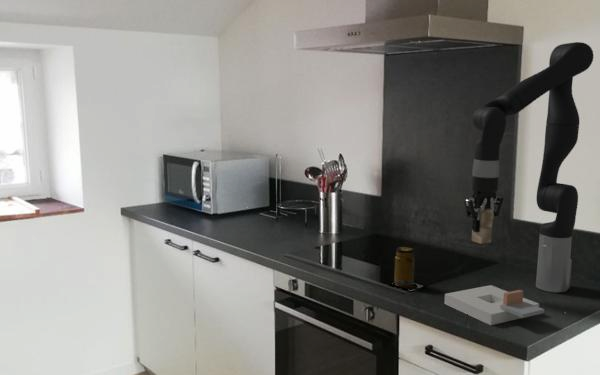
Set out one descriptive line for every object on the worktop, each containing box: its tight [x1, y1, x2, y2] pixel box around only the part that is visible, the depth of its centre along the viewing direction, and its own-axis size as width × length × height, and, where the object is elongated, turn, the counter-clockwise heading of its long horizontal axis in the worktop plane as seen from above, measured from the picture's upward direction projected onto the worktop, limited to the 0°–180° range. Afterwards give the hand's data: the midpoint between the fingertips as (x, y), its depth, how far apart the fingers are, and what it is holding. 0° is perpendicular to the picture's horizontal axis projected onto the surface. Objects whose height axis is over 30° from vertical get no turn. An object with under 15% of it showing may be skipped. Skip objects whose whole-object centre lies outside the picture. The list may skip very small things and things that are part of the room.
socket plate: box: [444, 284, 540, 326], centre depth 170 cm, size 18×18×3 cm
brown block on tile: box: [500, 289, 545, 319], centre depth 159 cm, size 8×8×4 cm
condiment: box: [393, 246, 424, 292], centre depth 188 cm, size 7×8×12 cm
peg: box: [471, 208, 494, 245], centre depth 180 cm, size 4×4×10 cm
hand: (481, 231), depth 180 cm, fingers closed on peg, 4 cm apart
